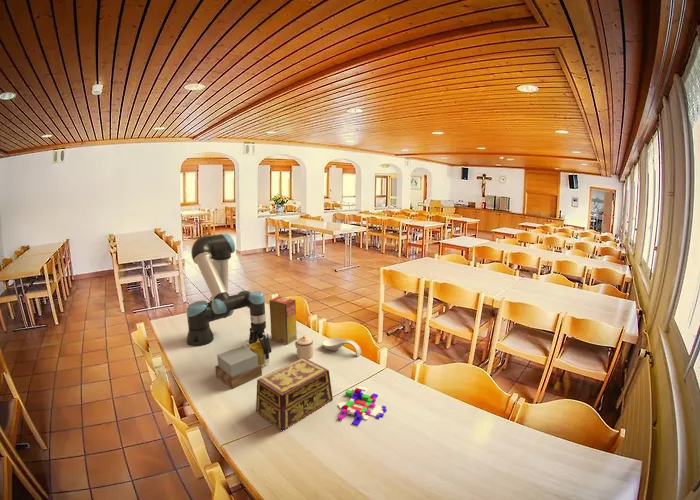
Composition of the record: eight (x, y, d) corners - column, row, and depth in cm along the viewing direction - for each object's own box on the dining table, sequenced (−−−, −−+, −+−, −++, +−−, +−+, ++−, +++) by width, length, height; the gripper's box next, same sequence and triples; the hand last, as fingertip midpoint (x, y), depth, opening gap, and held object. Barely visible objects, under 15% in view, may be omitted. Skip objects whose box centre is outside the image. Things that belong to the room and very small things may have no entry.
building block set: (374, 432, 143) (374, 422, 142) (327, 417, 152) (327, 408, 151) (395, 397, 165) (395, 388, 164) (353, 386, 174) (353, 378, 173)
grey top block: (218, 366, 182) (217, 355, 180) (244, 356, 191) (243, 345, 190) (231, 377, 172) (230, 365, 171) (258, 366, 181) (257, 354, 180)
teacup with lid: (317, 355, 203) (316, 335, 200) (304, 361, 196) (303, 341, 194) (302, 348, 210) (301, 329, 208) (289, 354, 204) (288, 335, 201)
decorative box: (282, 432, 143) (280, 397, 140) (255, 411, 156) (253, 379, 153) (333, 400, 163) (332, 369, 160) (305, 384, 175) (304, 355, 172)
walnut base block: (216, 377, 183) (215, 366, 182) (244, 365, 194) (244, 354, 193) (232, 389, 172) (231, 378, 171) (262, 376, 184) (261, 365, 182)
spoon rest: (318, 349, 210) (318, 338, 208) (330, 341, 220) (330, 330, 218) (354, 360, 198) (354, 347, 196) (365, 351, 207) (365, 339, 206)
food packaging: (297, 338, 223) (296, 299, 218) (287, 344, 216) (285, 304, 210) (281, 333, 230) (279, 295, 225) (270, 339, 223) (268, 300, 217)
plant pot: (274, 358, 199) (273, 342, 197) (264, 368, 190) (262, 350, 188) (257, 356, 203) (256, 339, 201) (246, 365, 193) (245, 347, 191)
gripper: (240, 317, 197) (243, 356, 201) (264, 329, 181) (267, 370, 186) (252, 313, 202) (254, 351, 207) (277, 325, 187) (279, 365, 191)
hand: (260, 360), depth 196 cm, fingers closed on plant pot, 10 cm apart
